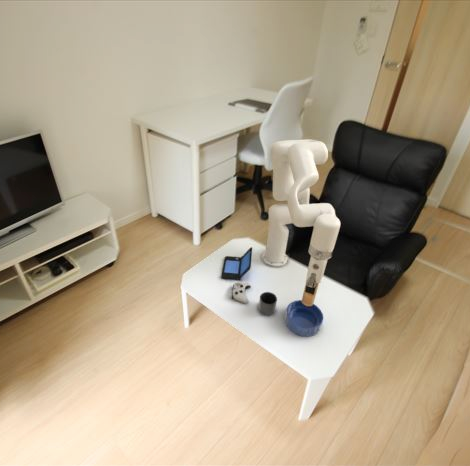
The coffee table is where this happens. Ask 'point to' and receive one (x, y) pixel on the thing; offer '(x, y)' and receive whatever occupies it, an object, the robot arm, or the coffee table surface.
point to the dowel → (309, 296)
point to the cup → (267, 303)
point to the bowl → (303, 319)
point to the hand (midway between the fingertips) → (311, 287)
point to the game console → (236, 266)
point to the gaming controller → (240, 292)
